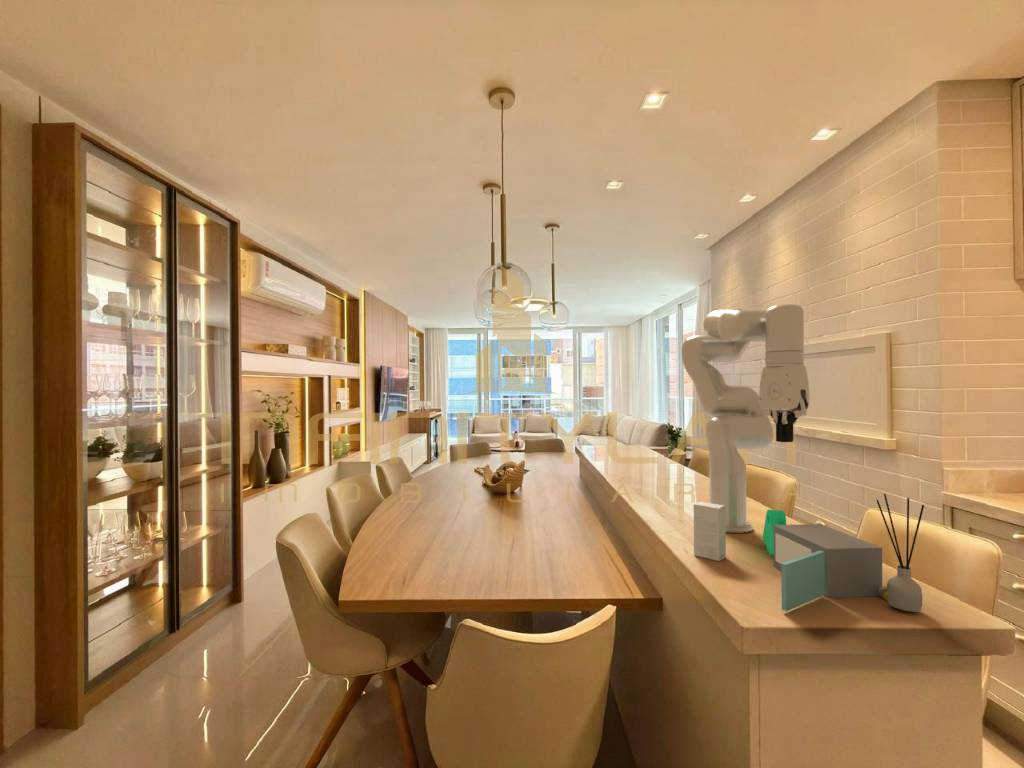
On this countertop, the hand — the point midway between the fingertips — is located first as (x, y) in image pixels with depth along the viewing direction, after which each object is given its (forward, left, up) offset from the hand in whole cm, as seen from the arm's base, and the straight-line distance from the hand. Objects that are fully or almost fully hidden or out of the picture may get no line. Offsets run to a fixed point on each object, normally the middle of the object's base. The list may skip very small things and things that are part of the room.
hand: (784, 441), depth 108 cm
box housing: (+10, +2, -27) cm, 29 cm away
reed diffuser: (+23, +5, -27) cm, 36 cm away
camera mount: (-6, +4, -28) cm, 28 cm away
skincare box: (-5, -15, -27) cm, 32 cm away
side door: (+21, -10, -27) cm, 35 cm away
